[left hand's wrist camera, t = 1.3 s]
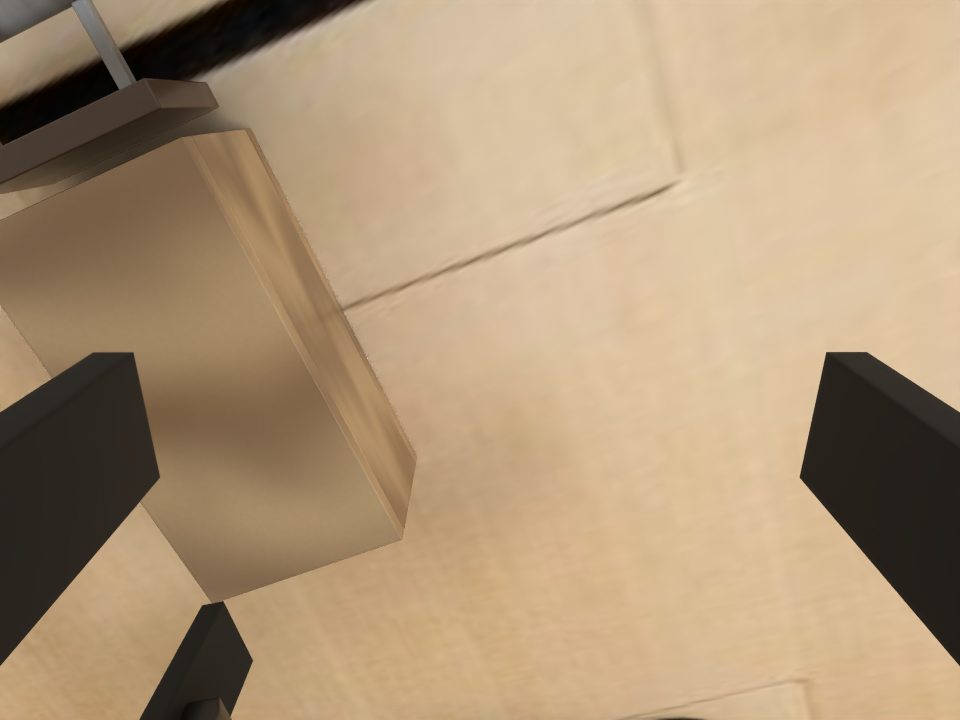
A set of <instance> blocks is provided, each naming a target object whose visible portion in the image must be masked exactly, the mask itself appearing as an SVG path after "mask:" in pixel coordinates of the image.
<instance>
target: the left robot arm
mask: <svg viewBox="0 0 960 720" xmlns="http://www.w3.org/2000/svg"><path fill="white" fill-rule="evenodd" d="M159 478H160V474H159V469H158V464H157V460H156V455H155V450H154V445H153V441H152V436H151V431H150V427H149V422H148V417H147V413H146V408H145V403H144V399H143V394H142V389H141V385H140V380H139V375H138V371H137V366H136V361H135V357H134V352H93V353H91V354H90V355H88V356H87V357H85V358H83V359H82V360H80V361H79V362H77V363H76V364H74V365H73V366H71V367H70V368H68V369H67V370H65V371H63V372H62V373H60V374H59V375H57V376H56V377H54V378H53V379H51V380H50V381H48V382H46V383H45V384H43V385H42V386H40V387H39V388H37V389H36V390H34V391H33V392H31V393H29V394H28V395H26V396H25V397H23V398H22V399H20V400H19V401H17V402H16V403H14V404H13V405H11V406H9V407H8V408H6V409H5V410H3V411H2V412H0V666H1V664H2V663H3V662H4V661H5V660H6V659H7V657H8V656H9V655H10V654H11V653H12V651H13V650H14V649H15V648H16V647H17V646H18V644H19V643H20V642H21V641H22V640H23V639H24V637H25V636H26V635H27V634H28V633H29V631H30V630H31V629H32V628H33V627H34V626H35V624H36V623H37V622H38V621H39V620H40V619H41V617H42V616H43V615H44V614H45V613H46V611H47V610H48V609H49V608H50V607H51V606H52V604H53V603H54V602H55V601H56V600H57V599H58V597H59V596H60V595H61V594H62V593H63V591H64V590H65V589H66V588H67V587H68V586H69V584H70V583H71V582H72V581H73V580H74V579H75V577H76V576H77V575H78V574H79V573H80V571H81V570H82V569H83V568H84V567H85V566H86V564H87V563H88V562H89V561H90V560H91V559H92V557H93V556H94V555H95V554H96V553H97V551H98V550H99V549H100V548H101V547H102V546H103V544H104V543H105V542H106V541H107V540H108V539H109V537H110V536H111V535H112V534H113V533H114V531H115V530H116V529H117V528H118V527H119V526H120V524H121V523H122V522H123V521H124V520H125V519H126V517H127V516H128V515H129V514H130V513H131V511H132V510H133V509H134V508H135V507H136V506H137V504H138V503H139V502H140V501H141V500H142V498H143V497H144V496H145V495H146V494H147V493H148V491H149V490H150V489H151V488H152V487H153V486H154V484H155V483H156V482H157V481H158V480H159ZM800 478H801V480H802V481H803V482H804V483H805V484H806V486H807V487H808V488H809V489H810V490H811V491H812V493H813V494H814V495H815V496H816V497H817V499H818V500H819V501H820V502H821V503H822V504H823V506H824V507H825V508H826V509H827V510H828V511H829V513H830V514H831V515H832V516H833V517H834V519H835V520H836V521H837V522H838V523H839V524H840V526H841V527H842V528H843V529H844V530H845V531H846V533H847V534H848V535H849V536H850V537H851V539H852V540H853V541H854V542H855V543H856V544H857V546H858V547H859V548H860V549H861V550H862V551H863V553H864V554H865V555H866V556H867V557H868V559H869V560H870V561H871V562H872V563H873V564H874V566H875V567H876V568H877V569H878V570H879V571H880V573H881V574H882V575H883V576H884V577H885V579H886V580H887V581H888V582H889V583H890V584H891V586H892V587H893V588H894V589H895V590H896V591H897V593H898V594H899V595H900V596H901V597H902V599H903V600H904V601H905V602H906V603H907V604H908V606H909V607H910V608H911V609H912V610H913V611H914V613H915V614H916V615H917V616H918V617H919V619H920V620H921V621H922V622H923V623H924V624H925V626H926V627H927V628H928V629H929V630H930V631H931V633H932V634H933V635H934V636H935V637H936V639H937V640H938V641H939V642H940V643H941V644H942V646H943V647H944V648H945V649H946V650H947V651H948V653H949V654H950V655H951V656H952V657H953V659H954V660H955V661H956V662H957V663H958V664H959V666H960V412H958V411H957V410H955V409H954V408H952V407H951V406H949V405H947V404H946V403H944V402H943V401H941V400H940V399H938V398H937V397H935V396H934V395H932V394H931V393H929V392H927V391H926V390H924V389H923V388H921V387H920V386H918V385H917V384H915V383H914V382H912V381H910V380H909V379H907V378H906V377H904V376H903V375H901V374H900V373H898V372H897V371H895V370H893V369H892V368H890V367H889V366H887V365H886V364H884V363H883V362H881V361H880V360H878V359H877V358H875V357H873V356H872V355H870V354H869V353H867V352H826V357H825V361H824V366H823V371H822V375H821V380H820V385H819V389H818V394H817V399H816V403H815V408H814V413H813V417H812V422H811V427H810V431H809V436H808V441H807V445H806V450H805V455H804V460H803V464H802V469H801V474H800Z"/></svg>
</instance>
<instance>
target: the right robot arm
mask: <svg viewBox="0 0 960 720" xmlns="http://www.w3.org/2000/svg"><path fill="white" fill-rule="evenodd" d="M252 662H253V660H252V658H251V656H250V654H249V652H248V650H247V648H246V646H245V644H244V642H243V640H242V638H241V636H240V634H239V632H238V630H237V628H236V626H235V624H234V622H233V620H232V618H231V616H230V614H229V612H228V610H227V608H226V606H225V604H224V602H223V601H222V602H217V603H212V604H207V605H202V607H201V608H200V610H199V612H198V614H197V616H196V618H195V619H194V621H193V623H192V625H191V627H190V628H189V630H188V632H187V634H186V636H185V638H184V639H183V641H182V643H181V645H180V647H179V648H178V650H177V652H176V654H175V656H174V658H173V659H172V661H171V663H170V665H169V667H168V668H167V670H166V672H165V674H164V676H163V678H162V679H161V681H160V683H159V685H158V687H157V689H156V690H155V692H154V694H153V696H152V698H151V699H150V701H149V703H148V705H147V707H146V709H145V710H144V712H143V714H142V716H141V718H140V719H139V720H232V719H231V717H230V716H231V714H232V711H233V709H234V706H235V704H236V701H237V699H238V696H239V694H240V692H241V689H242V687H243V684H244V682H245V679H246V677H247V674H248V672H249V669H250V667H251V664H252Z"/></svg>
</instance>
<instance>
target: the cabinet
mask: <svg viewBox="0 0 960 720" xmlns="http://www.w3.org/2000/svg"><path fill="white" fill-rule="evenodd" d="M0 305H1V306H2V308H3V309H4V311H5V312H6V314H7V315H8V316H9V318H10V319H11V321H12V322H13V323H14V325H15V326H16V328H17V329H18V330H19V332H20V333H21V335H22V336H23V337H24V339H25V340H26V342H27V343H28V345H29V346H30V347H31V349H32V350H33V352H34V353H35V354H36V356H37V357H38V359H39V360H40V361H41V363H42V364H43V366H44V367H45V368H46V370H47V371H48V373H49V374H50V376H51V377H52V378H54V377H56V376H57V375H59V374H60V373H62V372H63V371H65V370H67V369H68V368H70V367H71V366H73V365H74V364H76V363H77V362H79V361H80V360H82V359H83V358H85V357H87V356H88V355H90V354H91V353H93V352H134V357H135V361H136V366H137V371H138V375H139V380H140V385H141V389H142V394H143V399H144V403H145V408H146V413H147V417H148V422H149V427H150V431H151V436H152V441H153V445H154V450H155V455H156V460H157V464H158V469H159V474H160V478H159V480H158V481H157V482H156V483H155V484H154V486H153V487H152V488H151V489H150V490H149V491H148V493H147V494H146V495H145V496H144V497H143V498H142V500H141V501H140V502H141V504H142V505H143V507H144V508H145V509H146V511H147V512H148V514H149V515H150V516H151V518H152V519H153V521H154V522H155V523H156V525H157V526H158V528H159V529H160V531H161V532H162V533H163V535H164V536H165V538H166V539H167V540H168V542H169V543H170V545H171V546H172V547H173V549H174V550H175V552H176V553H177V554H178V556H179V557H180V559H181V560H182V562H183V563H184V564H185V566H186V567H187V569H188V570H189V571H190V573H191V574H192V576H193V577H194V578H195V580H196V581H197V583H198V584H199V585H200V587H201V588H202V590H203V591H204V592H205V594H206V595H207V597H208V598H209V600H210V601H211V602H212V603H216V602H219V601H222V600H225V599H228V598H231V597H234V596H237V595H240V594H243V593H246V592H249V591H252V590H255V589H258V588H261V587H263V586H266V585H269V584H272V583H275V582H278V581H281V580H284V579H287V578H290V577H293V576H296V575H299V574H302V573H305V572H308V571H311V570H314V569H317V568H320V567H322V566H325V565H328V564H331V563H334V562H337V561H340V560H343V559H346V558H349V557H352V556H355V555H358V554H361V553H364V552H367V551H370V550H373V549H376V548H379V547H381V546H384V545H387V544H390V543H393V542H396V541H399V540H402V538H403V532H404V527H405V522H406V516H407V510H408V505H409V499H410V494H411V488H412V483H413V477H414V471H415V466H416V460H417V457H416V455H415V453H414V451H413V449H412V447H411V445H410V443H409V441H408V439H407V437H406V435H405V433H404V431H403V429H402V427H401V425H400V423H399V421H398V419H397V417H396V415H395V413H394V411H393V409H392V407H391V405H390V403H389V401H388V399H387V397H386V395H385V393H384V391H383V389H382V387H381V385H380V384H379V382H378V380H377V378H376V376H375V374H374V372H373V370H372V368H371V366H370V364H369V362H368V360H367V358H366V356H365V354H364V352H363V350H362V348H361V346H360V344H359V342H358V340H357V338H356V336H355V334H354V332H353V330H352V328H351V326H350V324H349V322H348V320H347V318H346V316H345V314H344V312H343V310H342V308H341V306H340V304H339V302H338V301H337V299H336V297H335V295H334V293H333V291H332V289H331V287H330V285H329V283H328V281H327V279H326V277H325V275H324V273H323V271H322V269H321V267H320V265H319V263H318V261H317V259H316V257H315V255H314V253H313V251H312V249H311V247H310V245H309V243H308V241H307V239H306V237H305V235H304V233H303V231H302V229H301V227H300V225H299V223H298V221H297V220H296V218H295V216H294V214H293V212H292V210H291V208H290V206H289V204H288V202H287V200H286V198H285V196H284V194H283V192H282V190H281V188H280V186H279V184H278V182H277V180H276V178H275V176H274V174H273V172H272V170H271V168H270V166H269V164H268V162H267V160H266V158H265V156H264V154H263V152H262V150H261V148H260V146H259V144H258V142H257V140H256V138H255V137H254V135H253V133H252V131H251V129H241V130H233V131H224V132H216V133H208V134H200V135H191V136H184V137H180V138H178V139H176V140H173V141H171V142H169V143H167V144H165V145H163V146H160V147H158V148H156V149H154V150H152V151H150V152H147V153H145V154H143V155H141V156H139V157H137V158H134V159H132V160H130V161H128V162H126V163H124V164H121V165H119V166H117V167H115V168H113V169H110V170H108V171H106V172H104V173H102V174H100V175H97V176H95V177H93V178H91V179H89V180H87V181H84V182H82V183H80V184H78V185H76V186H74V187H71V188H69V189H67V190H65V191H63V192H61V193H58V194H56V195H54V196H52V197H50V198H47V199H45V200H43V201H41V202H39V203H37V204H34V205H32V206H30V207H28V208H26V209H24V210H21V211H19V212H17V213H15V214H13V215H11V216H8V217H6V218H4V219H2V220H0Z"/></svg>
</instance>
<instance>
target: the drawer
mask: <svg viewBox="0 0 960 720" xmlns="http://www.w3.org/2000/svg"><path fill="white" fill-rule="evenodd" d="M72 6H73V8H74V10H75V12H76V13H77V15H78V17H79V19H80V20H81V22H82V24H83V26H84V27H85V29H86V31H87V33H88V35H89V36H90V38H91V40H92V42H93V43H94V45H95V47H96V49H97V50H98V52H99V54H100V56H101V58H102V59H103V61H104V63H105V65H106V66H107V68H108V70H109V72H110V73H111V75H112V77H113V79H114V81H115V82H116V84H117V86H118V88H119V89H120V90H118V91H116V92H114V93H112V94H110V95H108V96H106V97H104V98H102V99H100V100H98V101H96V102H93V103H91V104H89V105H87V106H85V107H83V108H81V109H79V110H77V111H75V112H73V113H71V114H68V115H66V116H64V117H62V118H60V119H58V120H56V121H54V122H52V123H50V124H48V125H46V126H43V127H41V128H39V129H37V130H35V131H33V132H31V133H29V134H27V135H25V136H23V137H21V138H18V139H16V140H14V141H12V142H10V143H8V144H6V145H4V146H3V145H2V144H1V142H0V194H4V193H9V192H14V191H20V190H25V189H30V188H35V187H40V186H45V185H50V184H54V183H56V182H58V181H61V180H63V179H65V178H67V177H69V176H71V175H74V174H76V173H78V172H80V171H82V170H84V169H87V168H89V167H91V166H93V165H95V164H97V163H99V162H102V161H104V160H106V159H108V158H110V157H112V156H115V155H117V154H119V153H121V152H123V151H125V150H128V149H130V148H132V147H134V146H136V145H138V144H140V143H143V142H145V141H147V140H149V139H151V138H153V137H156V136H158V135H160V134H162V133H164V132H166V131H169V130H171V129H173V128H175V127H177V126H179V125H181V124H184V123H186V122H188V121H190V120H192V119H194V118H197V117H199V116H201V115H203V114H205V113H207V112H210V111H212V110H214V109H216V108H218V107H219V106H218V103H217V102H216V100H215V98H214V96H213V94H212V92H211V90H210V88H209V86H208V84H207V83H206V82H192V81H176V80H161V79H146V78H144V79H141V80H139V81H137V82H136V80H135V78H134V76H133V74H132V73H131V71H130V69H129V67H128V65H127V64H126V62H125V60H124V58H123V56H122V54H121V53H120V51H119V49H118V47H117V45H116V44H115V42H114V40H113V38H112V36H111V35H110V33H109V31H108V29H107V27H106V26H105V24H104V22H103V20H102V18H101V17H100V15H99V13H98V11H97V9H96V8H95V6H94V4H93V2H92V0H0V43H1V42H3V41H5V40H7V39H9V38H11V37H13V36H15V35H17V34H19V33H21V32H23V31H25V30H27V29H29V28H31V27H33V26H35V25H37V24H39V23H41V22H43V21H45V20H47V19H49V18H51V17H53V16H55V15H57V14H58V13H60V12H62V11H64V10H66V9H68V8H70V7H72Z"/></svg>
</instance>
